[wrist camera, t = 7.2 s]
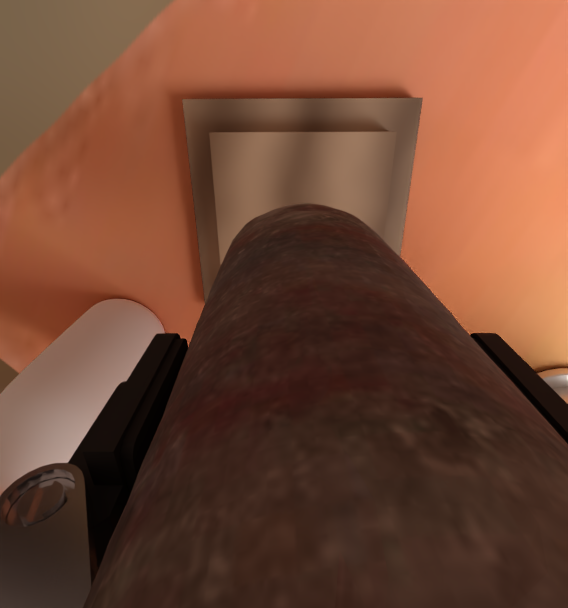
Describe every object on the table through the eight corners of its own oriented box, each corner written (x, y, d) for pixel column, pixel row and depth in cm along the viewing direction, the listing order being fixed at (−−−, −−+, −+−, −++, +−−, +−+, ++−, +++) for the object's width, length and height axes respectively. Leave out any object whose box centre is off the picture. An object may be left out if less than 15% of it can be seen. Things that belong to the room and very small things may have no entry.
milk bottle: (100, 280, 32) (-145, 482, 14) (181, 320, 33) (58, 547, 15) (74, 344, 35) (-156, 580, 17) (150, 378, 36) (16, 625, 18)
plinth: (415, 99, 25) (433, 95, 22) (387, 304, 32) (398, 323, 29) (187, 100, 26) (173, 96, 22) (209, 304, 33) (200, 323, 29)
